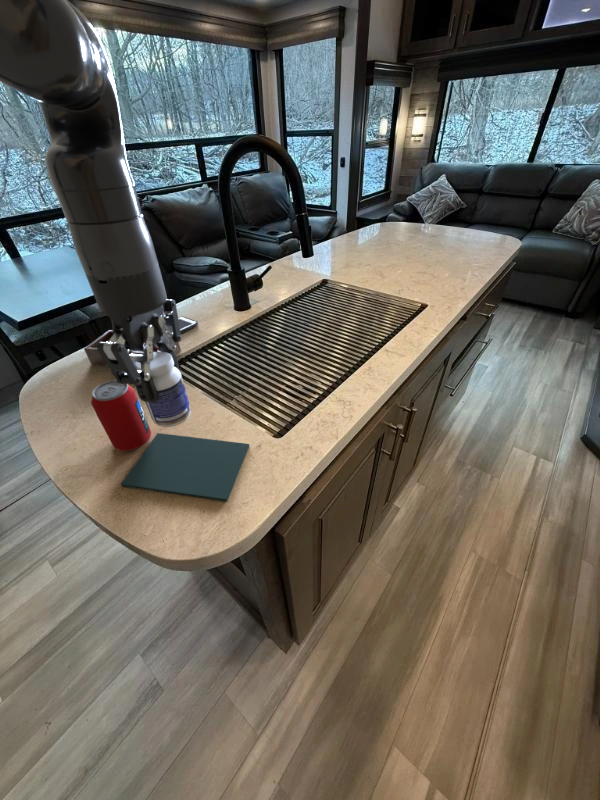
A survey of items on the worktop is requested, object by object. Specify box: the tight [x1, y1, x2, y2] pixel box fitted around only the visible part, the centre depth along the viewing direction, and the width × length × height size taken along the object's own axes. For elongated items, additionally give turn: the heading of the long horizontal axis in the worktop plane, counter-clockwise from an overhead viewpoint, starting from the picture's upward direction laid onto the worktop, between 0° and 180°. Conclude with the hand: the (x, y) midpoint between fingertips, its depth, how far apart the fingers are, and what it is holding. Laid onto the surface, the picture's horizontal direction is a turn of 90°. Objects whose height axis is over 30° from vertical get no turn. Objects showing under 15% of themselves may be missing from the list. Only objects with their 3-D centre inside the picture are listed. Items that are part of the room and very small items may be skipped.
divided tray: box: [83, 329, 182, 369], centre depth 84 cm, size 19×10×4 cm, turn 80°
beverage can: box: [90, 379, 152, 452], centre depth 58 cm, size 7×7×12 cm
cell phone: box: [167, 316, 199, 334], centre depth 97 cm, size 8×15×1 cm, turn 144°
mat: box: [120, 432, 250, 503], centre depth 57 cm, size 18×12×1 cm, turn 80°
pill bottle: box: [136, 351, 192, 428], centre depth 47 cm, size 6×6×10 cm
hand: (162, 386), depth 47 cm, fingers closed on pill bottle, 5 cm apart
